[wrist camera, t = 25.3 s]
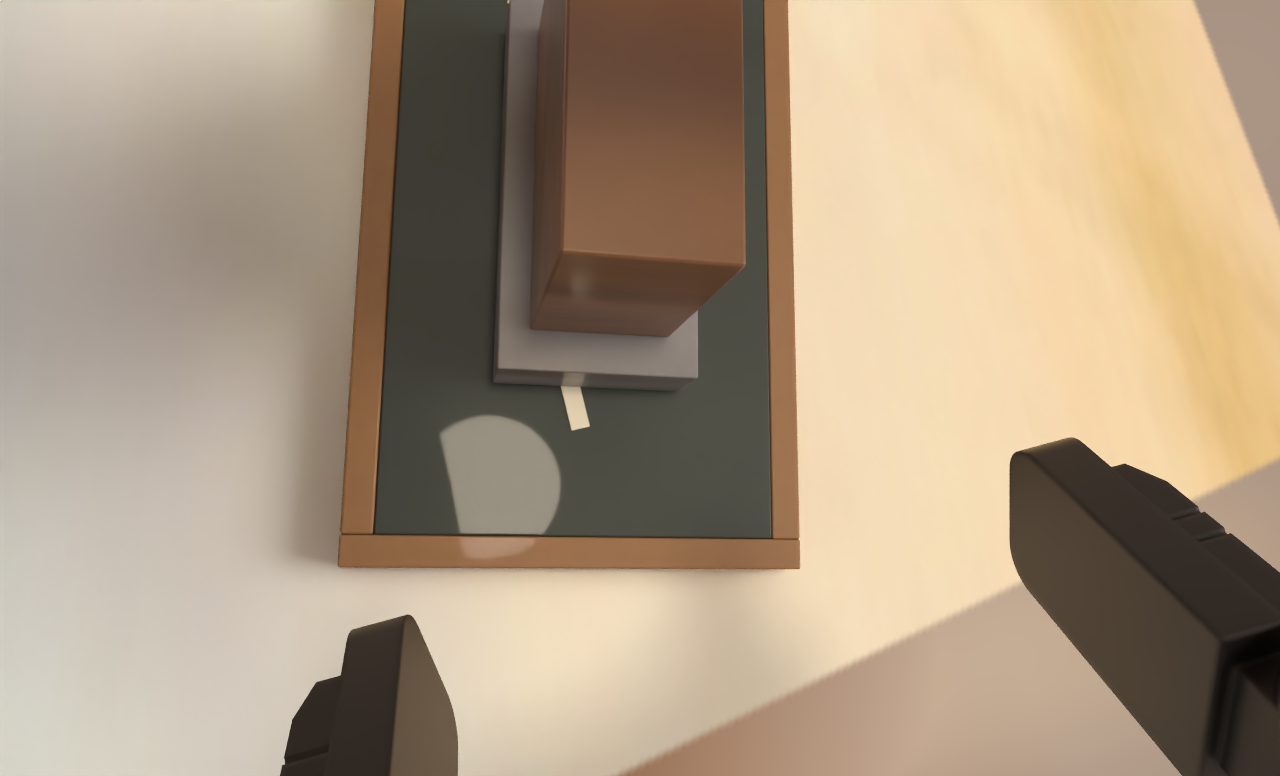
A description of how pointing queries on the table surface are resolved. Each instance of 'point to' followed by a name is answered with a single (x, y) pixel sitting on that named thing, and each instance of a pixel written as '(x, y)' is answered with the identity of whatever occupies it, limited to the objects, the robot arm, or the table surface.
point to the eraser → (616, 188)
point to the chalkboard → (541, 414)
